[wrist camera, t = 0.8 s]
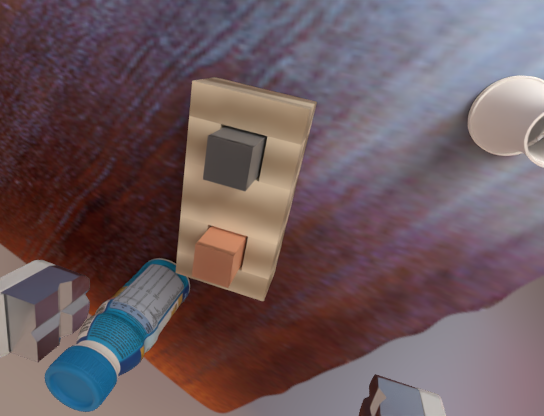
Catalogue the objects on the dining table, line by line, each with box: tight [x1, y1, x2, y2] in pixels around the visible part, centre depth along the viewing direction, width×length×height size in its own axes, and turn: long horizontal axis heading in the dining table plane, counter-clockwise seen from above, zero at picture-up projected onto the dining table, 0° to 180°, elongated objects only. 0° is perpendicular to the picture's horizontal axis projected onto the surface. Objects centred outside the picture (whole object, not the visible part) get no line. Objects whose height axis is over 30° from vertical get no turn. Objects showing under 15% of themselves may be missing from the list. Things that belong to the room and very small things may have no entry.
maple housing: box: [176, 77, 317, 301], centre depth 41 cm, size 24×12×6 cm, turn 169°
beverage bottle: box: [45, 258, 190, 412], centre depth 44 cm, size 8×8×20 cm
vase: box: [468, 76, 544, 167], centre depth 29 cm, size 8×8×10 cm
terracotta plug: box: [192, 226, 248, 288], centre depth 40 cm, size 4×4×6 cm
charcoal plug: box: [203, 126, 268, 191], centre depth 34 cm, size 4×4×6 cm
